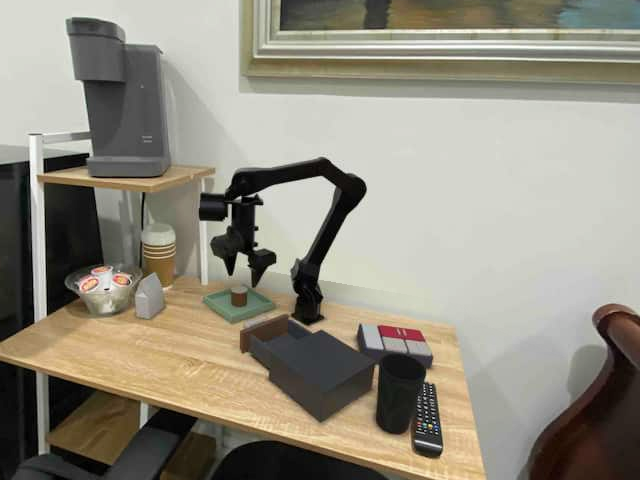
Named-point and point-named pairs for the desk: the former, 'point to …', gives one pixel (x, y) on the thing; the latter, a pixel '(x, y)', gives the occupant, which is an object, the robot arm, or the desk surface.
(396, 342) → the red and grey box
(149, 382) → the desk surface
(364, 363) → the dark grey box
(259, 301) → the tray
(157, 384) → the desk surface
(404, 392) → the cup
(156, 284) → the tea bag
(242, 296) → the pod
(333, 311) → the desk surface
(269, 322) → the drawer
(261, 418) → the desk surface
